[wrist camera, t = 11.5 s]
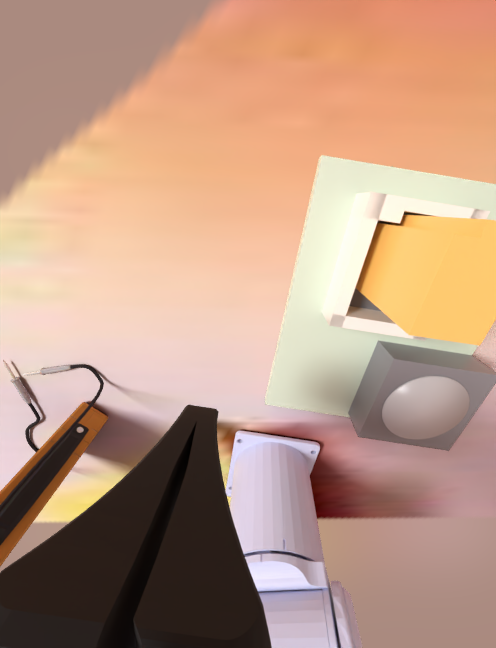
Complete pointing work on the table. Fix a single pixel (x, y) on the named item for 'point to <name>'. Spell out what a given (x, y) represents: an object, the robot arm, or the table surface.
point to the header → (367, 211)
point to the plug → (434, 276)
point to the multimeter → (45, 464)
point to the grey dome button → (419, 395)
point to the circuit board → (315, 277)
